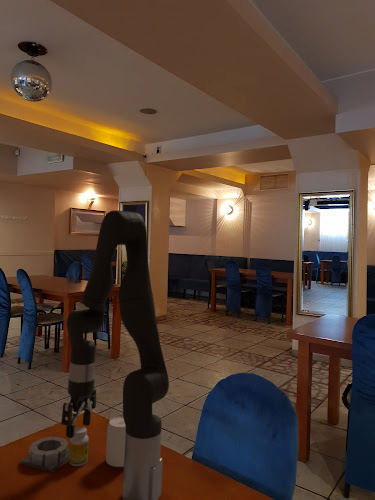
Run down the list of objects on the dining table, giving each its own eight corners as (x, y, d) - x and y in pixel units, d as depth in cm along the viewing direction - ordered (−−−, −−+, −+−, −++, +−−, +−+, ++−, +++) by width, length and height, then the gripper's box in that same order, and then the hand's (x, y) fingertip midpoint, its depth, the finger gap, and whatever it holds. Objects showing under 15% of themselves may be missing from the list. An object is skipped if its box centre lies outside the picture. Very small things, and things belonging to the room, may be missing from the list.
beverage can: (100, 463, 117) (101, 423, 117) (117, 451, 124) (118, 413, 124) (122, 472, 114) (124, 430, 113) (138, 459, 121) (140, 419, 121)
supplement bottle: (69, 457, 120) (71, 426, 120) (87, 456, 121) (89, 425, 121) (68, 467, 114) (69, 434, 114) (87, 466, 116) (88, 433, 116)
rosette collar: (75, 453, 122) (75, 440, 122) (52, 472, 112) (52, 458, 112) (45, 446, 126) (45, 434, 126) (20, 464, 115) (21, 450, 115)
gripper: (79, 386, 110) (75, 444, 110) (105, 371, 123) (102, 423, 123) (56, 382, 112) (52, 439, 112) (84, 368, 125) (81, 418, 126)
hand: (78, 430), depth 118 cm, fingers open, 8 cm apart
